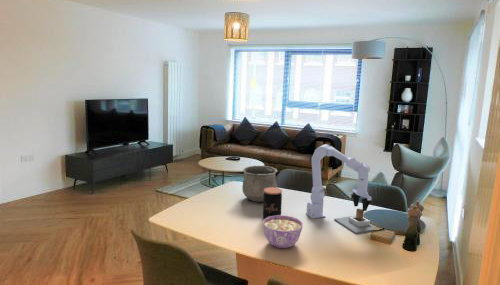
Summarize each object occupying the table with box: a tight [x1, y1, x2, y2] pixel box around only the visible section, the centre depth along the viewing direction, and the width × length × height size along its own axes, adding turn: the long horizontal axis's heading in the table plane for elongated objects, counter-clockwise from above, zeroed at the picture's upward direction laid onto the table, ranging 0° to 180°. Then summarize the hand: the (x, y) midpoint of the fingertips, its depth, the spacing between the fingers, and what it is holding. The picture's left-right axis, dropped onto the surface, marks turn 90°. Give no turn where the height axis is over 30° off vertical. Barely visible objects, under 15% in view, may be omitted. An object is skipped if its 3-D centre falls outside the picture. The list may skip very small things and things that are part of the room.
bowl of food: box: [262, 214, 304, 249], centre depth 181 cm, size 20×20×12 cm
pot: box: [241, 165, 279, 203], centre depth 244 cm, size 25×24×21 cm
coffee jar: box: [262, 187, 283, 220], centre depth 212 cm, size 11×11×18 cm
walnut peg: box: [355, 208, 365, 221], centre depth 208 cm, size 4×4×8 cm
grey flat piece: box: [334, 215, 376, 235], centre depth 209 cm, size 20×20×4 cm
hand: (360, 208), depth 207 cm, fingers open, 7 cm apart
